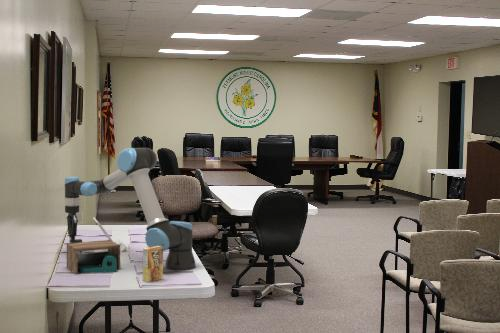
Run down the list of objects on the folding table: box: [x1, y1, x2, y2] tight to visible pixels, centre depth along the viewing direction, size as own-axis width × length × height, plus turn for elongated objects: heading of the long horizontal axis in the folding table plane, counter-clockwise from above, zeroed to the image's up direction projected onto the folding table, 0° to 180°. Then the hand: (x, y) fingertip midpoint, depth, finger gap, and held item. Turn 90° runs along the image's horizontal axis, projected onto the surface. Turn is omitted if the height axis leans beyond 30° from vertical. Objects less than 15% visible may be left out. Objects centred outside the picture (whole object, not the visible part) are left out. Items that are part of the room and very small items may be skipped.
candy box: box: [142, 246, 164, 283], centre depth 299 cm, size 9×4×15 cm, turn 137°
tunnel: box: [66, 239, 121, 275], centre depth 320 cm, size 16×22×12 cm
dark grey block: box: [68, 238, 109, 268], centre depth 336 cm, size 27×19×9 cm
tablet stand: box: [92, 216, 128, 253], centre depth 371 cm, size 18×25×17 cm
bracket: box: [78, 254, 118, 274], centre depth 316 cm, size 18×7×8 cm, turn 99°
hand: (72, 248), depth 352 cm, fingers closed
